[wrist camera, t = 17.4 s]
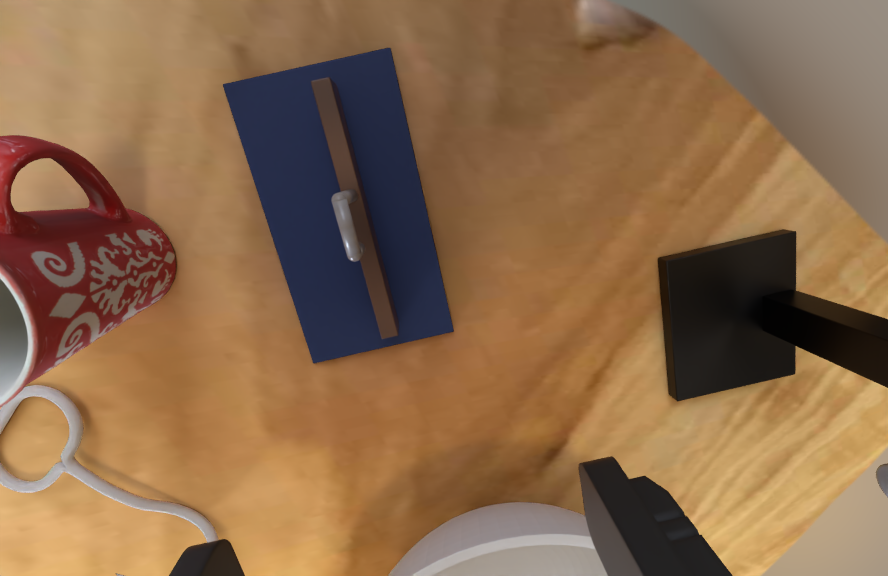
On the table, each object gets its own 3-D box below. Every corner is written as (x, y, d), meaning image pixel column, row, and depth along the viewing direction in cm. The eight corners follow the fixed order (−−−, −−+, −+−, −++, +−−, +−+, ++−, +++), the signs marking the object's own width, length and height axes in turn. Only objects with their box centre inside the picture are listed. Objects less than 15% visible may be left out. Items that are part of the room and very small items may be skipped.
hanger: (318, 88, 28) (285, 59, 21) (336, 84, 28) (309, 53, 21) (383, 327, 33) (375, 372, 25) (399, 324, 33) (395, 367, 25)
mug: (170, 339, 32) (7, 451, 19) (41, 290, 31) (-230, 377, 18) (225, 181, 30) (80, 189, 17) (87, 120, 28) (-190, 76, 15)
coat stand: (651, 259, 33) (1018, 395, 13) (783, 229, 33) (1350, 317, 13) (662, 395, 37) (973, 674, 16) (783, 368, 37) (1240, 610, 16)
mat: (225, 85, 28) (222, 84, 28) (390, 49, 28) (390, 47, 28) (314, 360, 34) (313, 363, 33) (453, 329, 34) (453, 331, 33)
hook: (206, 577, 37) (8, 441, 36) (265, 501, 36) (60, 357, 35) (145, 664, 30) (-106, 498, 29) (215, 573, 29) (-47, 394, 27)
